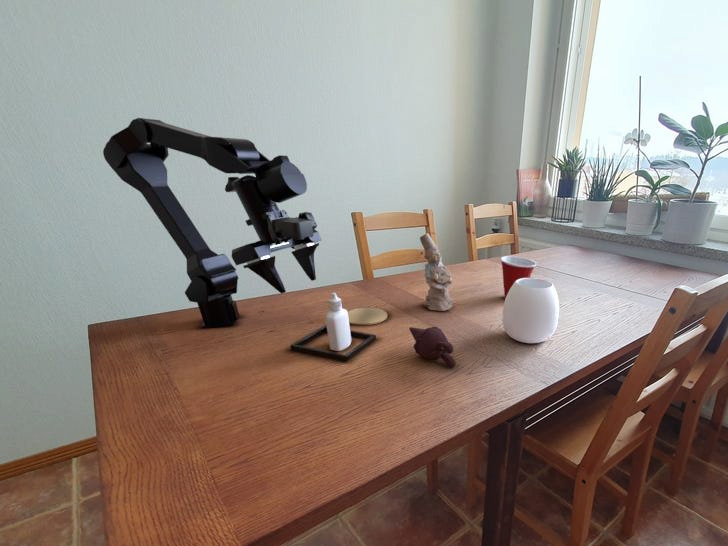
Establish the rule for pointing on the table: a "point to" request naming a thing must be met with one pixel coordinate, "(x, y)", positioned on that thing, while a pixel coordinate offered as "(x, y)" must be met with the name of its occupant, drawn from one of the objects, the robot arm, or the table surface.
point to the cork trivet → (366, 316)
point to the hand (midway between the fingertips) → (299, 286)
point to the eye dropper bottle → (338, 325)
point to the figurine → (436, 277)
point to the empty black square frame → (300, 348)
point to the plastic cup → (515, 270)
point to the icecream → (433, 344)
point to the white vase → (531, 310)
